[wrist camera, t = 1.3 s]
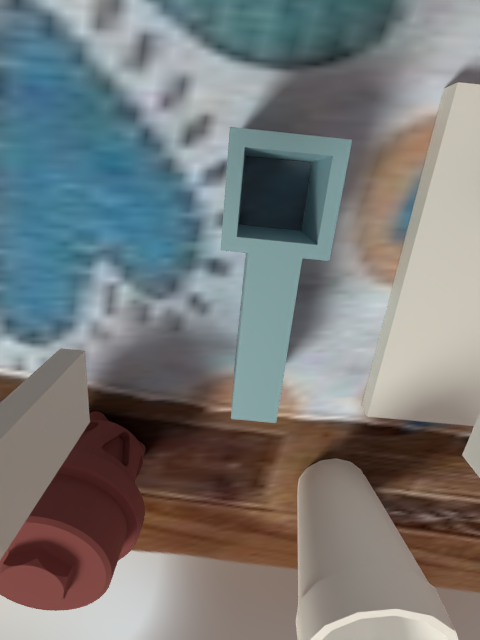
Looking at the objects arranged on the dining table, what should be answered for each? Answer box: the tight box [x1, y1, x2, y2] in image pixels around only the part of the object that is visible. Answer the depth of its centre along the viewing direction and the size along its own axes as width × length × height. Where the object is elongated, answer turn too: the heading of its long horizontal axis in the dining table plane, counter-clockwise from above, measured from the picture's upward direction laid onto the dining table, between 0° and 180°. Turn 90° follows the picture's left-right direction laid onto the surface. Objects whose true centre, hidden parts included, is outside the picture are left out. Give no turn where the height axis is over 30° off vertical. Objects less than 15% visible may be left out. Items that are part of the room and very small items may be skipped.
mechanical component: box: [0, 411, 146, 610], centre depth 26 cm, size 12×10×10 cm
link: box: [221, 127, 352, 423], centre depth 23 cm, size 17×6×6 cm, turn 175°
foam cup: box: [296, 458, 458, 640], centre depth 27 cm, size 10×9×13 cm
